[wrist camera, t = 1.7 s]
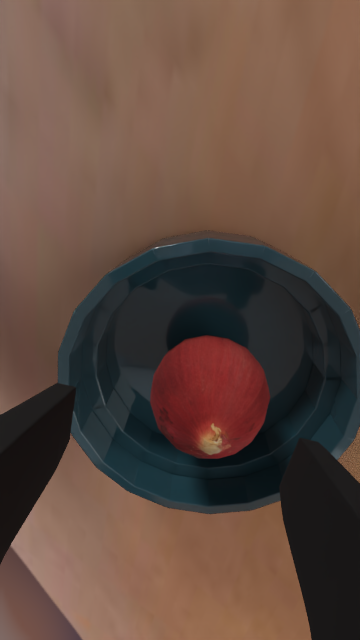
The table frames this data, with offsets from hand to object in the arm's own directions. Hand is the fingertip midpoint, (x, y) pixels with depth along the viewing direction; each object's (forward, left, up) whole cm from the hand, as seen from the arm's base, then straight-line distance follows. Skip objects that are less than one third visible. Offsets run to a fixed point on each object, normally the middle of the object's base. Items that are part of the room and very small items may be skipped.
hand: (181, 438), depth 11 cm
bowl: (-2, +1, -10) cm, 10 cm away
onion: (-2, +1, -10) cm, 10 cm away
